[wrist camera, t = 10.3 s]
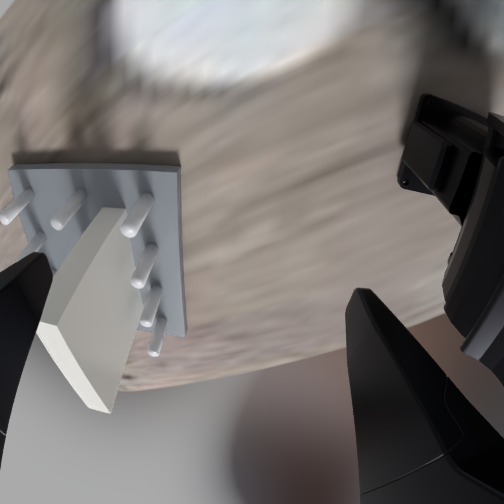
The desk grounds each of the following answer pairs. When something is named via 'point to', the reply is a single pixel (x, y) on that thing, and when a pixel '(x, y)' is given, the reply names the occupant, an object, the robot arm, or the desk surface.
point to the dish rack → (134, 226)
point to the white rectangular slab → (94, 311)
